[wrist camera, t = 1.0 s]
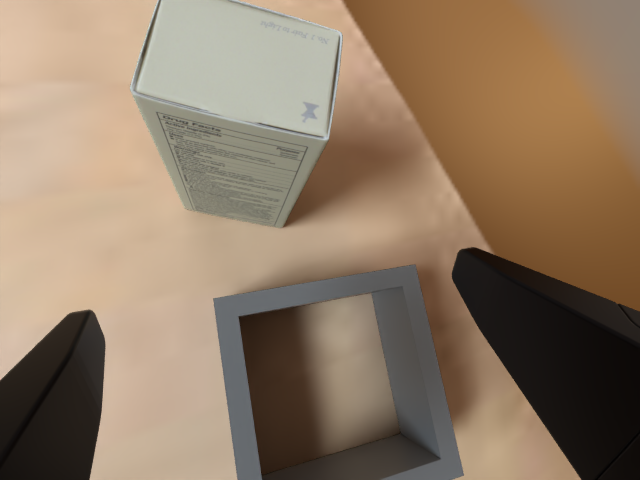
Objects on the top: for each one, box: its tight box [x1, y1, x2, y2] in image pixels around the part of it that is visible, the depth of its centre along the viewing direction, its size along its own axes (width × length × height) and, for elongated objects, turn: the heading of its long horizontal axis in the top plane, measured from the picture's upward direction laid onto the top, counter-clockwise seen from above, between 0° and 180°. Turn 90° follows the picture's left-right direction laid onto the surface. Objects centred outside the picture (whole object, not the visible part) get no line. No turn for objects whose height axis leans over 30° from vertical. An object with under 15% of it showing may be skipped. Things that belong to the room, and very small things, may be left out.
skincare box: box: [130, 0, 343, 228], centre depth 18 cm, size 6×4×12 cm
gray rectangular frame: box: [213, 265, 464, 480], centre depth 20 cm, size 10×10×4 cm
